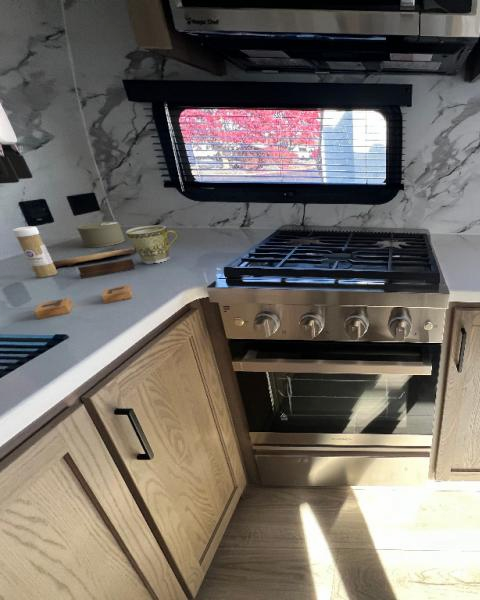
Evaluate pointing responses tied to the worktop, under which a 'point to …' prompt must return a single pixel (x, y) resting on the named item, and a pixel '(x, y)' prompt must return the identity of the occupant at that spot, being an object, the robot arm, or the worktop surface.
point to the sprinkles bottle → (35, 251)
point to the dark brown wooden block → (106, 268)
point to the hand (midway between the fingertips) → (14, 180)
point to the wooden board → (91, 257)
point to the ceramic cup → (151, 243)
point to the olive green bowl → (101, 234)
